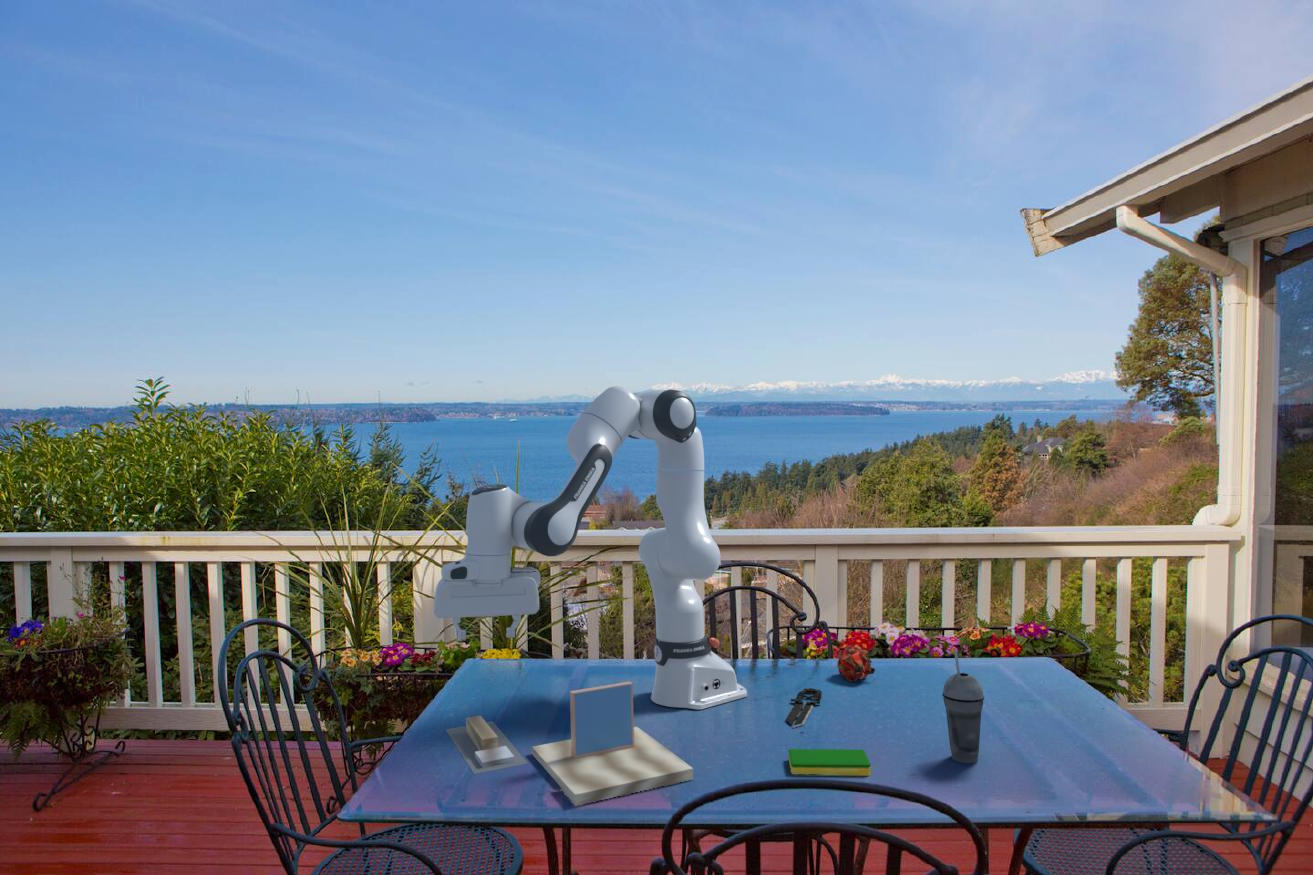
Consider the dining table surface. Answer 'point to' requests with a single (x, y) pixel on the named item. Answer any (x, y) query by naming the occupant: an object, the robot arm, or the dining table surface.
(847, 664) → the dragon fruit
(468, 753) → the mat
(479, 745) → the turner
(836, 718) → the dining table surface
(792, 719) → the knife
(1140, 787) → the dining table surface
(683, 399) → the robot arm
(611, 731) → the tile
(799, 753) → the dish sponge
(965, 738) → the beverage cup
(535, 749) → the board
